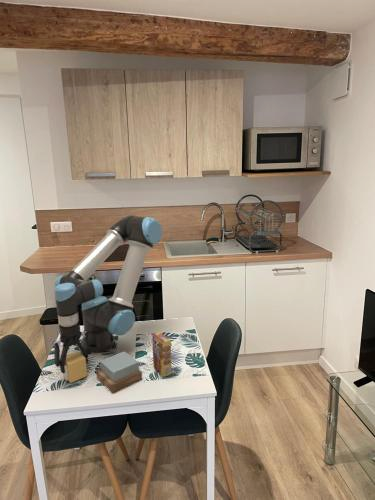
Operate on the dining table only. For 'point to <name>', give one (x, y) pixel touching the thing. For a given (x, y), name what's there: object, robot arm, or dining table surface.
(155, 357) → the candy box
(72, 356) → the ochre block
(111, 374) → the top block
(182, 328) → the dining table surface
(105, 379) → the base block
